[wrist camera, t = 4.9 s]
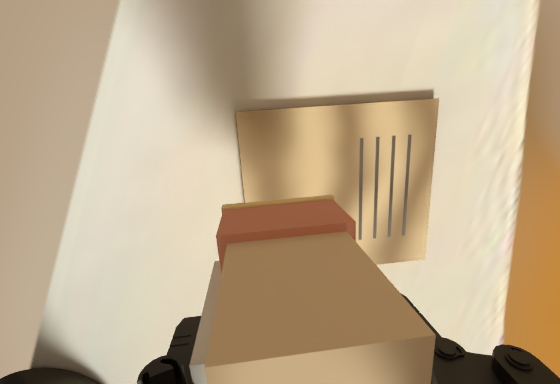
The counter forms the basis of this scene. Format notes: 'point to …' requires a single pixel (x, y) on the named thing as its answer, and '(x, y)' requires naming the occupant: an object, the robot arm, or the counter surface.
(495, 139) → the counter surface
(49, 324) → the counter surface
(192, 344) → the robot arm
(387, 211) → the board
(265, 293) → the block
